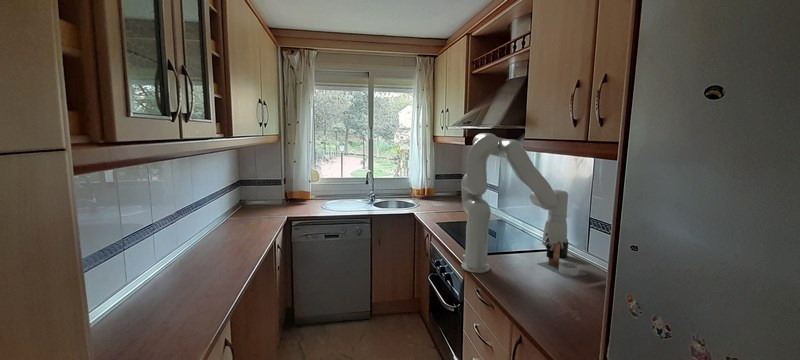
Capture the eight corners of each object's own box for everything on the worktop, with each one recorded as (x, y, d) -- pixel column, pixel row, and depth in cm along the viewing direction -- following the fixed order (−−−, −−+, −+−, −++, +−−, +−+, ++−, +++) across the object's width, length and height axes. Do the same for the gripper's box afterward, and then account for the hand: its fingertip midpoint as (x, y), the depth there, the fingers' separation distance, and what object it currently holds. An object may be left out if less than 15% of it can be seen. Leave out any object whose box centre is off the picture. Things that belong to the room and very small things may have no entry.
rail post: (545, 263, 160) (547, 238, 158) (553, 262, 162) (555, 237, 160) (553, 267, 156) (555, 241, 154) (560, 266, 158) (562, 240, 156)
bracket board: (536, 265, 160) (537, 257, 160) (556, 262, 165) (556, 254, 164) (566, 280, 145) (567, 271, 144) (587, 276, 149) (588, 267, 149)
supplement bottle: (549, 257, 171) (550, 233, 170) (556, 254, 175) (558, 231, 174) (562, 261, 166) (564, 237, 164) (569, 258, 170) (571, 234, 168)
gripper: (564, 214, 162) (561, 252, 165) (536, 217, 156) (533, 256, 159) (578, 218, 155) (574, 257, 158) (548, 221, 149) (545, 262, 152)
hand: (553, 256), depth 158 cm, fingers closed on rail post, 4 cm apart
